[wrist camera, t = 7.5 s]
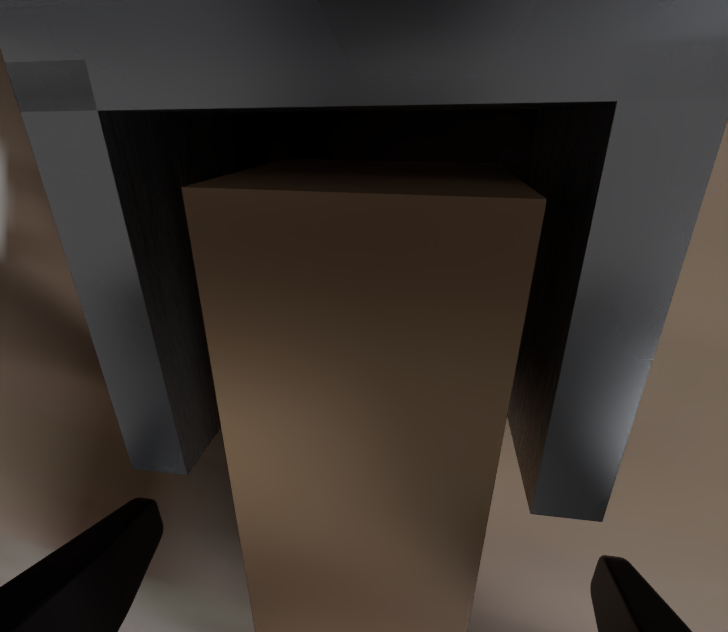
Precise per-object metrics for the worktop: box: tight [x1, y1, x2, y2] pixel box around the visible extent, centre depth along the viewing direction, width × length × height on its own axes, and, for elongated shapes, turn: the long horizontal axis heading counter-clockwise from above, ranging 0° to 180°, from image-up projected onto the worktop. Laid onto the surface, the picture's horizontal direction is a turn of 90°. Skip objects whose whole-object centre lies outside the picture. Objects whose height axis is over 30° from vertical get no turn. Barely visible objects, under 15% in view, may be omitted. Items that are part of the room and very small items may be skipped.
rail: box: [182, 159, 547, 632], centre depth 9 cm, size 14×4×4 cm, turn 0°
